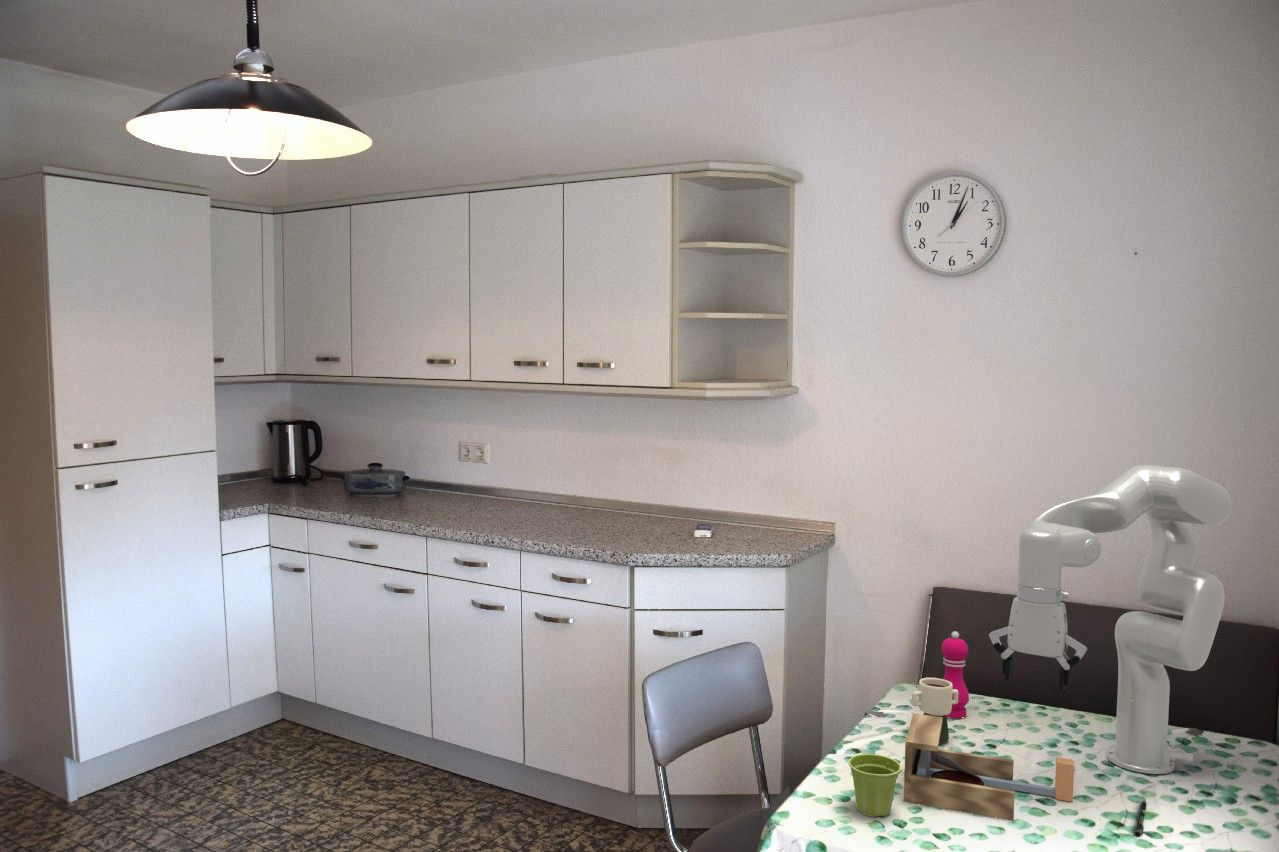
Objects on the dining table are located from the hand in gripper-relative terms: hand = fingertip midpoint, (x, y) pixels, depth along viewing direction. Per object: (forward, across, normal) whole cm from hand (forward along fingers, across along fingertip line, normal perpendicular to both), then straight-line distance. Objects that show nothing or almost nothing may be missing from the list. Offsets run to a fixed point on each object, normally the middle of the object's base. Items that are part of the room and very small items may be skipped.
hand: (1035, 683), depth 179 cm
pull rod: (+22, +5, +6) cm, 23 cm away
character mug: (+22, +24, -17) cm, 36 cm away
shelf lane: (+22, +11, +7) cm, 25 cm away
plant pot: (+22, +22, +24) cm, 40 cm away
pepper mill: (+22, +25, -36) cm, 49 cm away
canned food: (+22, +12, +8) cm, 26 cm away
